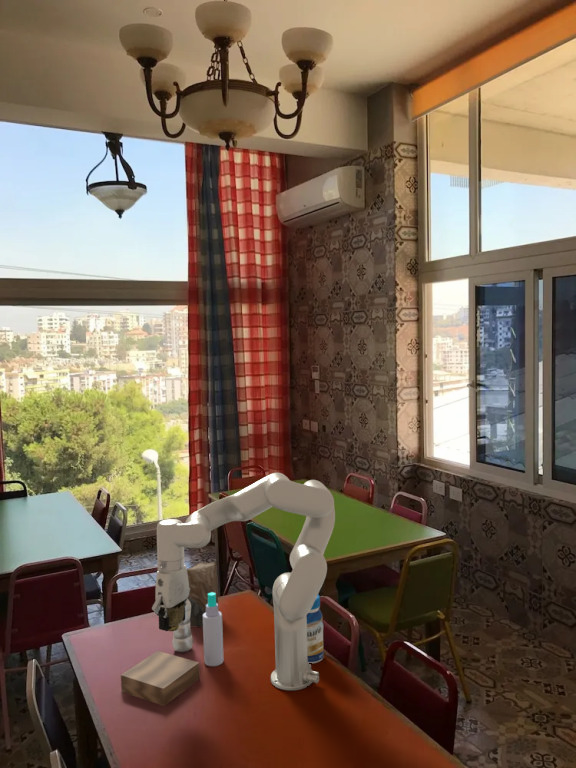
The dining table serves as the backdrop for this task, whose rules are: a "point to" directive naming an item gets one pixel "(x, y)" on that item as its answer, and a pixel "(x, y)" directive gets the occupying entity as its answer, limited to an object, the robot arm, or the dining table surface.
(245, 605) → the dining table surface
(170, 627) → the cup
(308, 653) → the beverage bottle
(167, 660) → the walnut plinth
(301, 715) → the dining table surface
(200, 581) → the brown rock
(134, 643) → the dining table surface
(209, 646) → the spray bottle
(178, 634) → the plastic bottle
